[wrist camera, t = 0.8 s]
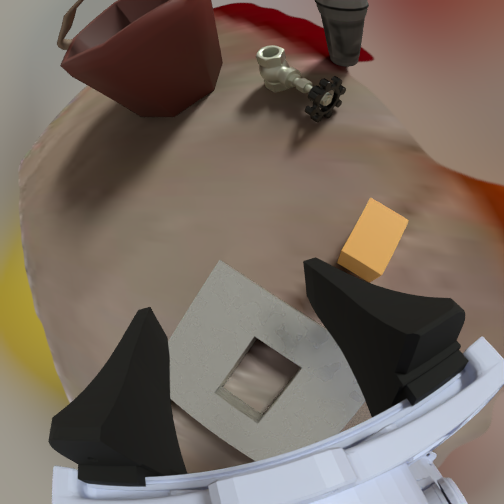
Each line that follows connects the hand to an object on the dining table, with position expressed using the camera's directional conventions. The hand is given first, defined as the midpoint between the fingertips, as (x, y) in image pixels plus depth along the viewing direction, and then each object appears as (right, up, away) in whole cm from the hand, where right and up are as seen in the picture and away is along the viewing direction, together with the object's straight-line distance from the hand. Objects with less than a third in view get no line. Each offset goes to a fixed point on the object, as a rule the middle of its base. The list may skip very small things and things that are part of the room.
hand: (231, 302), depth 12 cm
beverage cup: (+15, +33, +21) cm, 42 cm away
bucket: (-12, +32, +28) cm, 44 cm away
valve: (+7, +24, +21) cm, 33 cm away
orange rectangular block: (+13, +2, +15) cm, 20 cm away
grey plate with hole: (+2, -11, +15) cm, 18 cm away
